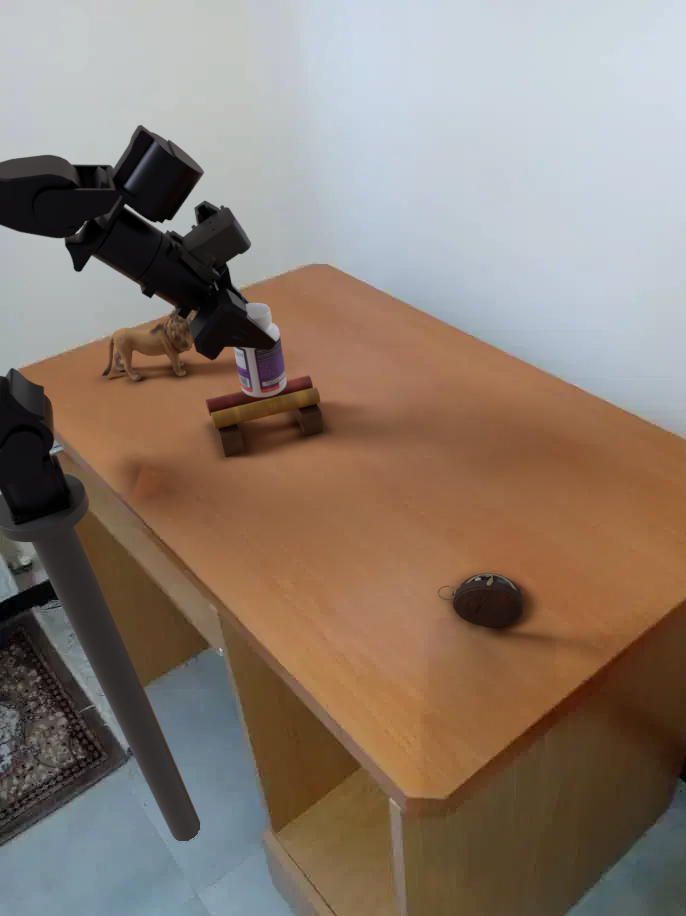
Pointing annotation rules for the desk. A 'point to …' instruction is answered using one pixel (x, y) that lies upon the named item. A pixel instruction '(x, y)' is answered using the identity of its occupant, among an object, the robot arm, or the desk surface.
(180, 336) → the lion figurine
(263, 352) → the pill bottle
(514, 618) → the brown coin purse
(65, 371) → the desk surface
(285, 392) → the rod rack
